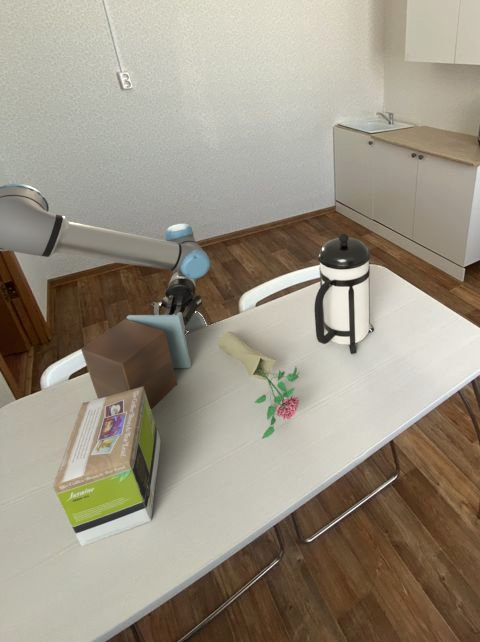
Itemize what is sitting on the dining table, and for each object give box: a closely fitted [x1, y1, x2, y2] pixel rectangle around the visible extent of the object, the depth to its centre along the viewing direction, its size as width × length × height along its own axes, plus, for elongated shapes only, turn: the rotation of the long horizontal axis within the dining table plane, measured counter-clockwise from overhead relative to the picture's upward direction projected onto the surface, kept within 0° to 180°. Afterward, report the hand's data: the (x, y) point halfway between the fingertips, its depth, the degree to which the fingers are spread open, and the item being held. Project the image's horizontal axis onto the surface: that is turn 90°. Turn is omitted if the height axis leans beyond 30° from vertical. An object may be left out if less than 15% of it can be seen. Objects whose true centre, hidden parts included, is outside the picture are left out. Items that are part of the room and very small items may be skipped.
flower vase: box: [217, 331, 301, 439], centre depth 84 cm, size 12×12×35 cm
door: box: [126, 312, 192, 369], centre depth 90 cm, size 3×12×15 cm, turn 90°
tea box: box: [52, 387, 162, 547], centre depth 64 cm, size 15×10×15 cm, turn 21°
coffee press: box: [314, 233, 375, 355], centre depth 96 cm, size 17×16×30 cm
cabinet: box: [80, 318, 178, 410], centre depth 83 cm, size 10×12×15 cm
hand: (164, 343), depth 91 cm, fingers closed
